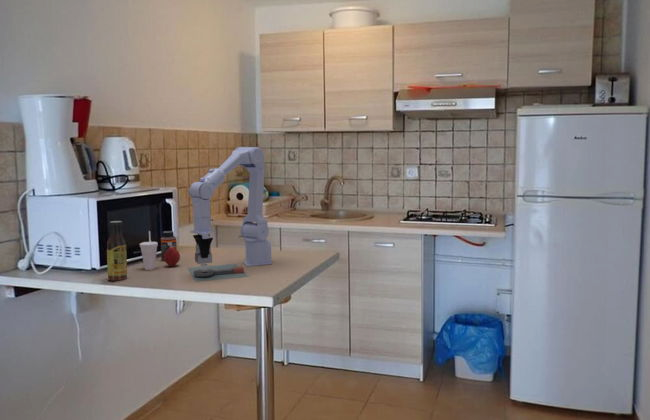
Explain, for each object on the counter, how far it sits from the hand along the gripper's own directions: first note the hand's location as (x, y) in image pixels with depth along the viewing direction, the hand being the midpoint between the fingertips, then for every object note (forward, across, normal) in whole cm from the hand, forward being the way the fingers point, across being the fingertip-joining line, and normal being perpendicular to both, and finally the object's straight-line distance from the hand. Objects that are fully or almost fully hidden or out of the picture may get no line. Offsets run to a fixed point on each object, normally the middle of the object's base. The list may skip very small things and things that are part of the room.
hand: (203, 256), depth 195 cm
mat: (+7, -4, +5) cm, 9 cm away
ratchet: (+7, 0, +5) cm, 8 cm away
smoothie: (+7, -19, -17) cm, 26 cm away
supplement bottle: (+7, -33, -9) cm, 35 cm away
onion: (+7, -20, -9) cm, 23 cm away
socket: (+2, 0, 0) cm, 2 cm away
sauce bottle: (+7, -7, -28) cm, 30 cm away
